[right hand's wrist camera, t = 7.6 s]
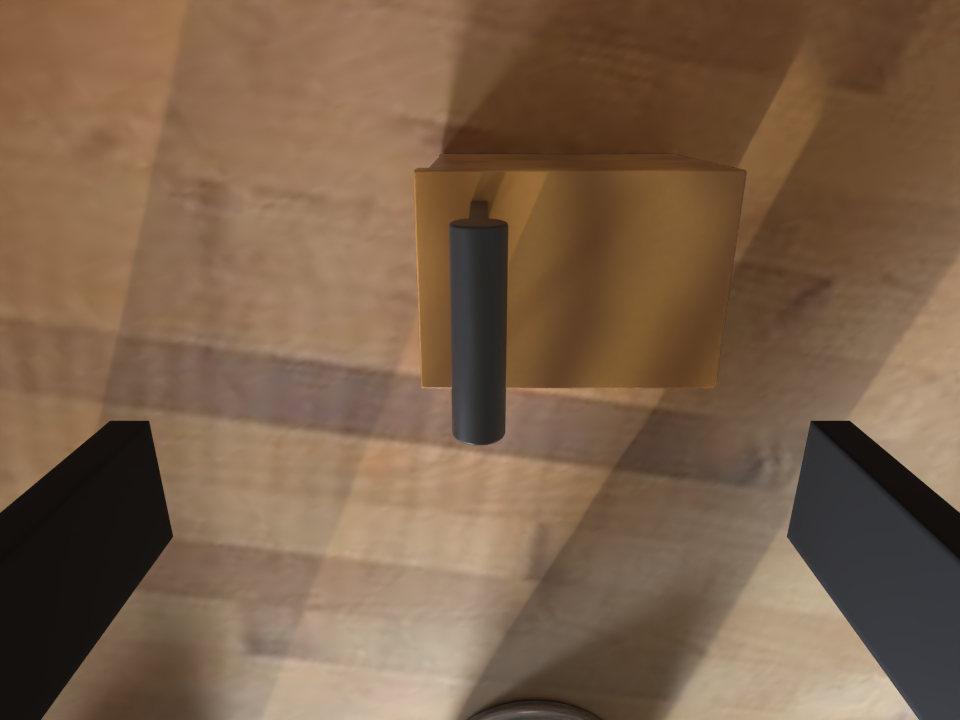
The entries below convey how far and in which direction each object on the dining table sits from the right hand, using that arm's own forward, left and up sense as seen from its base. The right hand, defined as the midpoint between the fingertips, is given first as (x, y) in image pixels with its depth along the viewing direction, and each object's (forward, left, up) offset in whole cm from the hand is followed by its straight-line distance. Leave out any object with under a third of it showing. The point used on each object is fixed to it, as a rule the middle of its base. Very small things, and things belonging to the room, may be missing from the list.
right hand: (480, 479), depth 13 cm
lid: (+2, -4, -16) cm, 17 cm away
